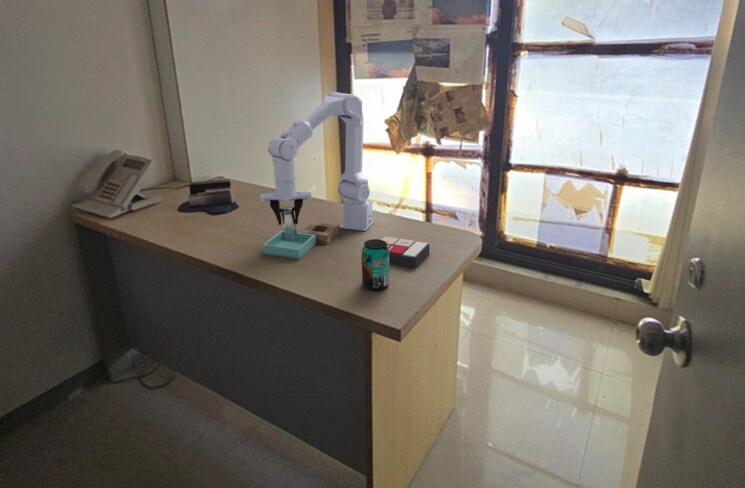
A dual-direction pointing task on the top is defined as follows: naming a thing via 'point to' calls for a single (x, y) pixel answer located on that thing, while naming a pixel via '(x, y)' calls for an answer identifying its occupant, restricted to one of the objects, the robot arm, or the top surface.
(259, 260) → the top surface
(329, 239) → the hole block
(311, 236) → the tray
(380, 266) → the beverage can
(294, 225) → the steel pin
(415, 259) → the red white black box
